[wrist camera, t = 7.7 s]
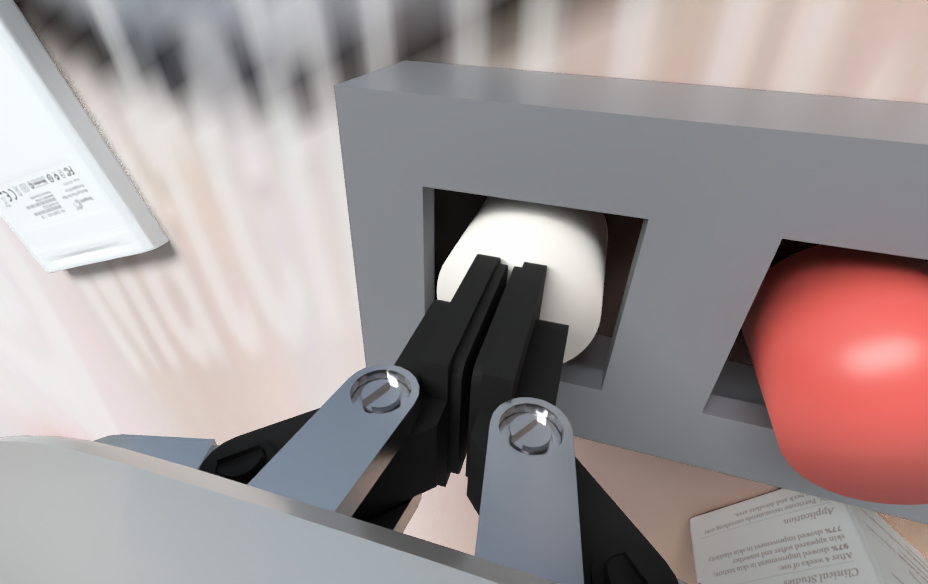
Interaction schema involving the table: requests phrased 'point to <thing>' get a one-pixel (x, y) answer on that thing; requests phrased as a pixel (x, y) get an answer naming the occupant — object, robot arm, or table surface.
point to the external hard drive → (60, 164)
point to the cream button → (541, 259)
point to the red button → (847, 369)
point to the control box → (662, 234)
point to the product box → (801, 544)
